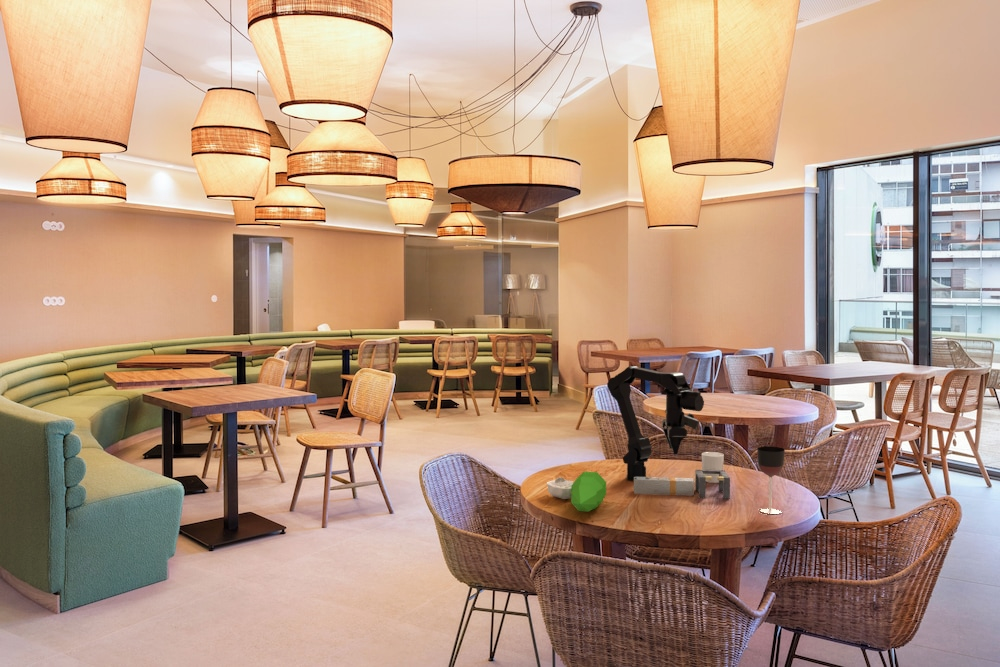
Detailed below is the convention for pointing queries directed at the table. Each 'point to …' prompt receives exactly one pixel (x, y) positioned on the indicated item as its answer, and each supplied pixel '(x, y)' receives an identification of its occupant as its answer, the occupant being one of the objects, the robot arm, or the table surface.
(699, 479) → the grey c-shaped bracket
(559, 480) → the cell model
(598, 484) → the decorative tree
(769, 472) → the wineglass
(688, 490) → the grey rectangular bar
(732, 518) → the table surface
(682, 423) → the robot arm
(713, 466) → the white cup
